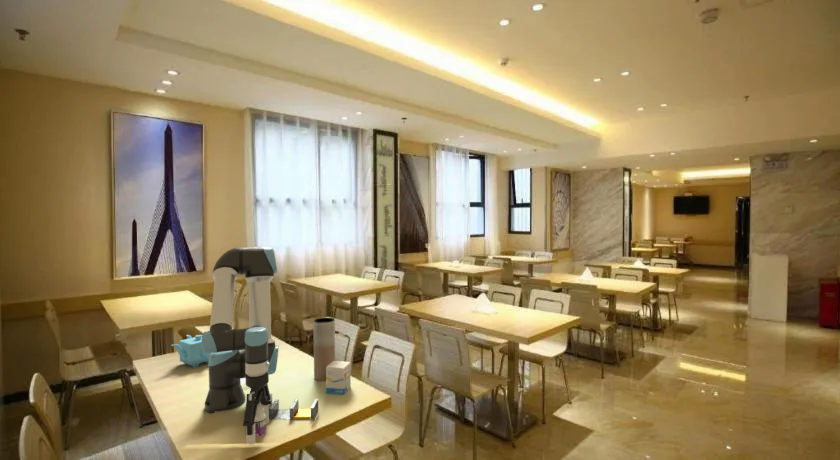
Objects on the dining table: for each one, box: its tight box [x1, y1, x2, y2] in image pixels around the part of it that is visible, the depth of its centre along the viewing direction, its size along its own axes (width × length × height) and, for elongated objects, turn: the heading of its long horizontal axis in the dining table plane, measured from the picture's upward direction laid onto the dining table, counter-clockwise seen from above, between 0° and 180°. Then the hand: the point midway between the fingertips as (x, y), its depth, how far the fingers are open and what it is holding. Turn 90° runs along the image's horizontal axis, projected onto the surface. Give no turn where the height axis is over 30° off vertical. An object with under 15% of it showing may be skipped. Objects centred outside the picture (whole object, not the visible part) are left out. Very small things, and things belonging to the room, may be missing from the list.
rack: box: [269, 398, 319, 422], centre depth 162 cm, size 24×8×5 cm, turn 92°
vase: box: [312, 316, 336, 382], centre depth 200 cm, size 10×10×28 cm
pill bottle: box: [254, 407, 267, 438], centre depth 147 cm, size 5×5×10 cm
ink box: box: [325, 360, 352, 395], centre depth 186 cm, size 9×8×12 cm
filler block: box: [257, 393, 273, 408], centre depth 161 cm, size 5×5×7 cm
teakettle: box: [171, 334, 211, 368], centre depth 221 cm, size 19×19×15 cm
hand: (258, 432), depth 148 cm, fingers open, 13 cm apart
